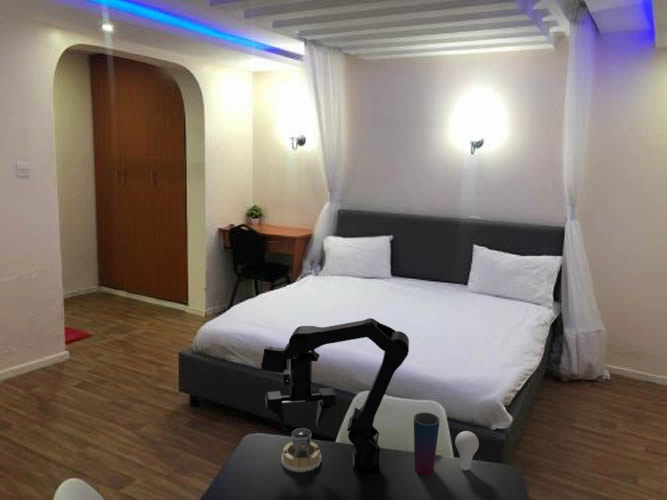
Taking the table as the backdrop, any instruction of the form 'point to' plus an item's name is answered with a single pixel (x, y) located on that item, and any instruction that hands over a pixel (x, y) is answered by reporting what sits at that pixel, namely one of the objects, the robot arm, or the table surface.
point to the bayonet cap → (301, 443)
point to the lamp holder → (300, 459)
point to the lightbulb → (466, 448)
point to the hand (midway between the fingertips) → (300, 427)
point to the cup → (425, 442)
